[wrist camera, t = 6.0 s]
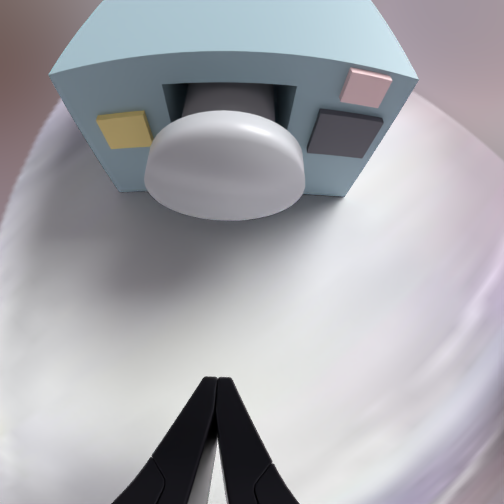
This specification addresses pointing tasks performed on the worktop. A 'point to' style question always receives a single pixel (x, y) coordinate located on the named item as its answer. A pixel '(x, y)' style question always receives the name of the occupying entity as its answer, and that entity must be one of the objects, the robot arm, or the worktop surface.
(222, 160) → the plug
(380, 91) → the socket block
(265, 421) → the worktop surface
